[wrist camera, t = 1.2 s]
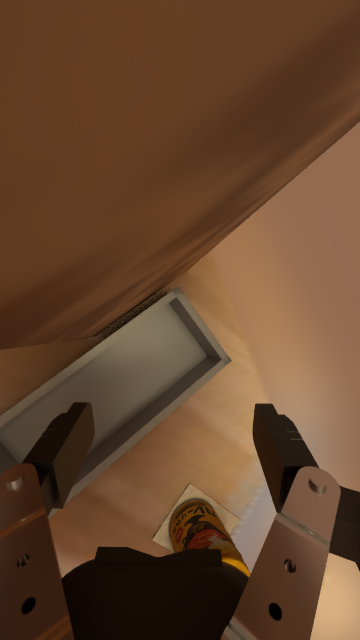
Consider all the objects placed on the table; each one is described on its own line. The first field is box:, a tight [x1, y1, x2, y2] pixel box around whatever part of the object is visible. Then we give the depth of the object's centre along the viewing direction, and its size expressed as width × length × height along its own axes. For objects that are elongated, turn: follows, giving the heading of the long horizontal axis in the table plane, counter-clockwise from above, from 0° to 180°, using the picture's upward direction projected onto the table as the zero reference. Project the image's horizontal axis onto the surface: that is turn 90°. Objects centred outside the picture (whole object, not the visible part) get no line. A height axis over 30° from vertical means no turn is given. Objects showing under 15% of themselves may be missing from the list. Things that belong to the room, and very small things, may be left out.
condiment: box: [152, 484, 251, 577], centre depth 26 cm, size 7×8×12 cm
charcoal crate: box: [0, 287, 231, 519], centre depth 27 cm, size 24×10×5 cm, turn 127°
